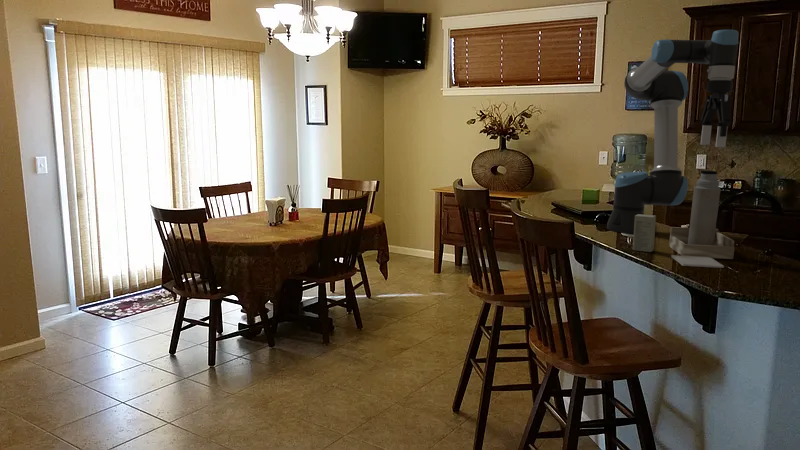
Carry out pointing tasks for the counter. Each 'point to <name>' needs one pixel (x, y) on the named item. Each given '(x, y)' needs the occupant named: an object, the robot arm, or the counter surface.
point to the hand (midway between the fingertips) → (712, 146)
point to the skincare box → (644, 232)
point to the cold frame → (719, 250)
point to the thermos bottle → (704, 209)
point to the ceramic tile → (697, 261)
